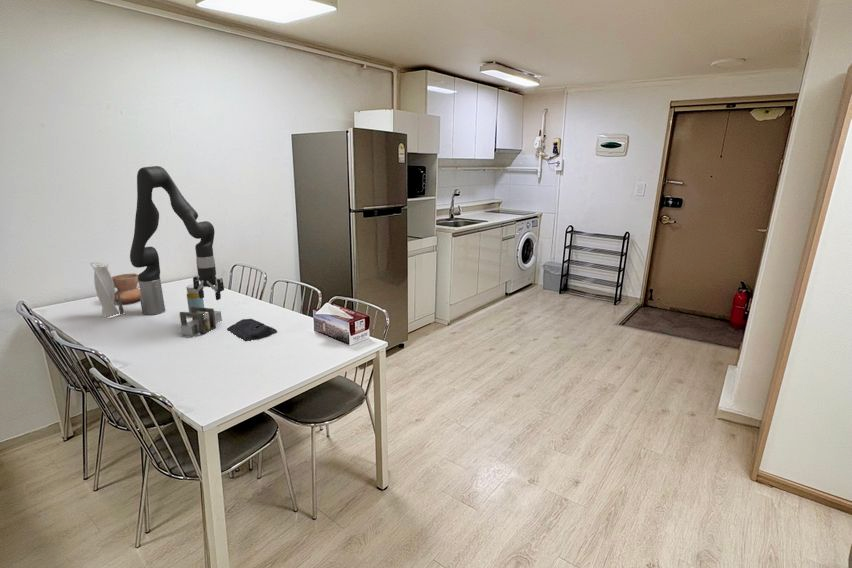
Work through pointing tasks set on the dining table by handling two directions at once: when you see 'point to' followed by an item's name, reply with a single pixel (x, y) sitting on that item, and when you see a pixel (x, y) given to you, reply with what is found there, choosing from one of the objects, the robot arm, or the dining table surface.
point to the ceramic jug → (127, 287)
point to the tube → (193, 325)
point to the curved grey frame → (200, 318)
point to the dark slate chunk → (251, 330)
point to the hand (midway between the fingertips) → (210, 298)
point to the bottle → (194, 298)
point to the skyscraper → (106, 290)
